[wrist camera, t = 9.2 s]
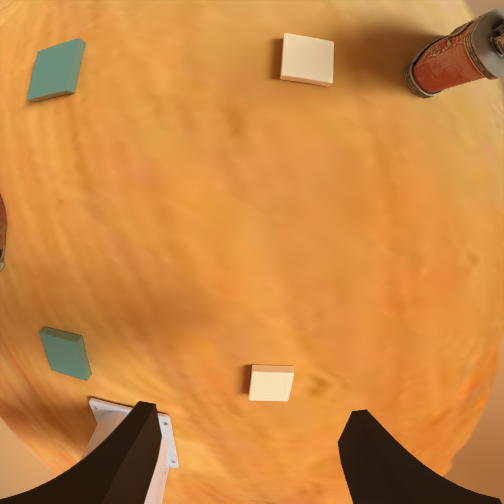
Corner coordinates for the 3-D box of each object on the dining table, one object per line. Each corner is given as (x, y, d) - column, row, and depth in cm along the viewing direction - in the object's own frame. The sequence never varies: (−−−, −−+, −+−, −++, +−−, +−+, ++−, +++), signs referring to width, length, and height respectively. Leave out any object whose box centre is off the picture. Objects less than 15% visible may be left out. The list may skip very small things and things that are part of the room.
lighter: (446, 30, 13) (526, -10, 3) (471, 64, 14) (558, 39, 4) (394, 68, 14) (493, 16, 5) (424, 108, 15) (535, 85, 5)
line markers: (285, 398, 21) (287, 406, 20) (56, 363, 20) (51, 369, 19) (330, 40, 14) (334, 34, 13) (45, 54, 13) (38, 51, 12)
